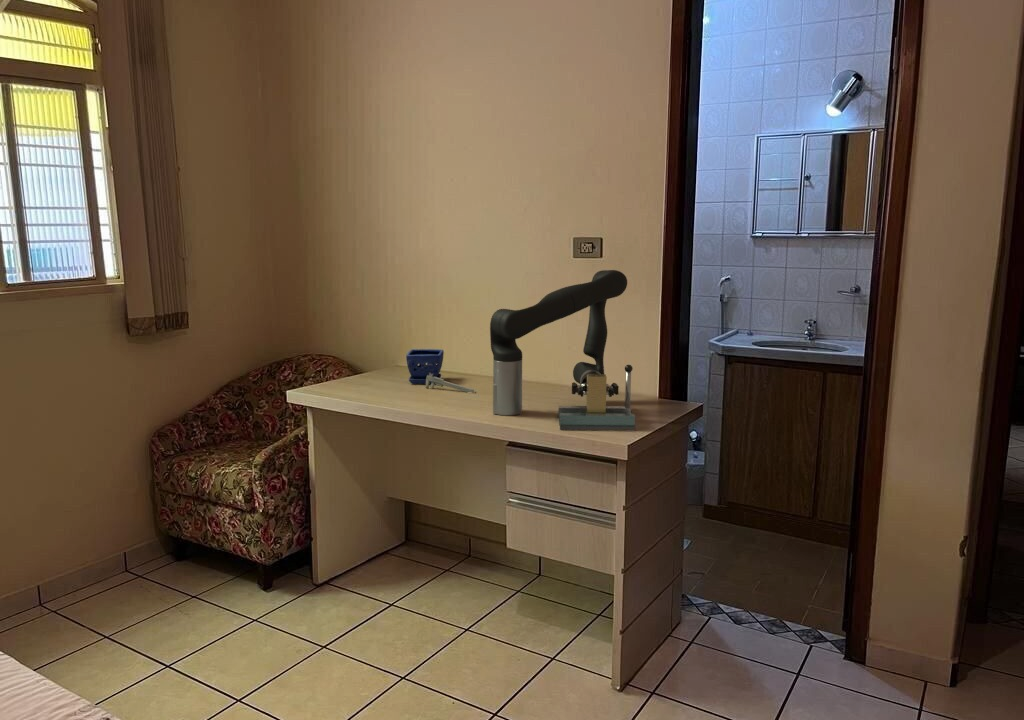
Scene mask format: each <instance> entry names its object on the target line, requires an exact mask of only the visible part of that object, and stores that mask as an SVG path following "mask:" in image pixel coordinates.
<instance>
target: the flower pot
mask: <svg viewBox="0 0 1024 720" xmlns="http://www.w3.org/2000/svg"><path fill="white" fill-rule="evenodd" d="M444 354H445V352H444V349H435V348H433V349H432V348H430V349H429V348H427V349H425V348H423V349H422V348H420V349H418V348H412V349H410V350H409V351H408V352H407V354H406V355H405V357H406V360H405V361H406V364H407V369H408V372H409V374H410V376H409V378H408V381H409V383H410V384H412V385H426V378H427V375H429V373H431V374H433V377H437V378H441V376H442V373H440V372H441V369H442V366H443V363H444V362H443V361H444ZM431 383H432V382H431V381H430V383H429V385H431Z"/></svg>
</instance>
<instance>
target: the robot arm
mask: <svg viewBox="0 0 1024 720" xmlns="http://www.w3.org/2000/svg"><path fill="white" fill-rule="evenodd" d="M627 286H628V279H627V276H626V275H625V273H623V272H622V271H620V270H615V269H610V270H609V269H608V270H607V269H603V270H599V271H597V272H595V273H594V275H593V277H592V279H591V281H588V282H584V283H578V284H574V285H568V286H564V287H562V288H559V289H556V290H554V291H551V292H549V293H547V294H546V295H545V296H544V297H543V298H541V300H539V301H538V302H537V303H536V304H534V305H531V306H529V307H526V308H521V309H510V308H509V309H508V308H500V309H497V310H496V311H494V313H493V314H492V316H491V319H490V323H489V336H490V351H491V353H492V356H493V360H492V361H493V368H492V369H493V370H492V371H493V380H492V381H493V385H492V414H493V415H500V416H516V415H520V414H522V413H523V352H522V349H520V348H519V346H518V344H517V342H516V341H517V340H518V339H520V338H521V339H522V337H525V336H526V335H528V334H530V333H531V332H534V331H535V330H536V329H539V328H541V327H543V326H546V325H548V324H551V323H554V322H556V321H558V320H562V319H564V318H566V317H569V316H571V315H574V314H575V313H578V312H581V311H583V310H585V309H587V308H589V314H588V315H589V316H588V324H587V325H588V326H587V329H586V330H587V331H586V336H585V340H584V346H583V351H582V352H583V355H585V356H587V357H590V358H592V359H593V360H594V362H595V363H590V362H587V361H586V362H585V361H580V362H578V363H576V364H575V365H574V367H573V370H572V376H573V377H572V378H573V379H574V381H575V382H571V395H576V394H577V395H578V396H580V397H581V398H582V397H584V396H587V374H605V367H604V358H605V357H604V354H605V351H606V350H605V349H606V344H607V339H608V325H607V319H606V303H607V301H608V300H609V299H613V298H618V297H620V296H621V295H622V294H623V293H624V292H625V291H626V289H627V288H628V287H627ZM619 387H620V386H619V385H618V384H617V383H616V382H612V383H611V384H610V385H609V383H608V382H606V396H608V397H609V398H611V397H612V396H614V395H615V396H616V395H617V396H618V395H619Z"/></svg>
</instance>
